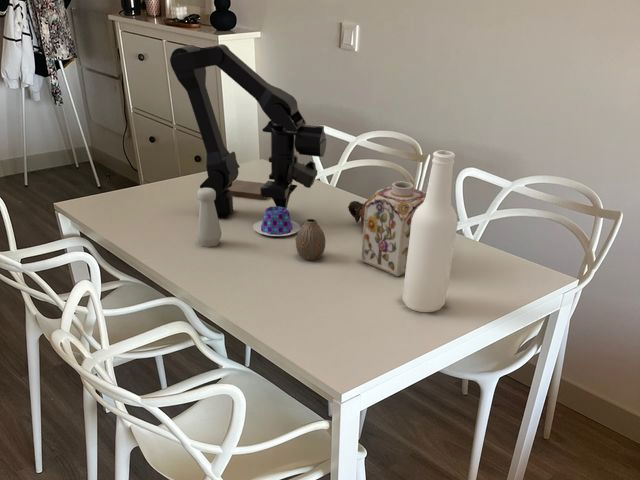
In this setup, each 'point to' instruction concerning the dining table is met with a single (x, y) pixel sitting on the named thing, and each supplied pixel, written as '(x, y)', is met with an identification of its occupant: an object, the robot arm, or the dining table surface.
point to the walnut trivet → (246, 189)
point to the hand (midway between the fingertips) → (282, 215)
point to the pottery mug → (357, 210)
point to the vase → (310, 240)
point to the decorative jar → (390, 226)
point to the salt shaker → (208, 218)
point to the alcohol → (432, 240)
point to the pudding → (276, 223)
